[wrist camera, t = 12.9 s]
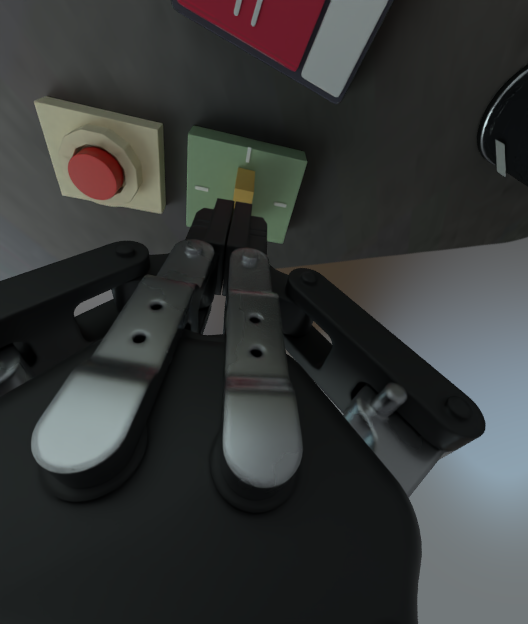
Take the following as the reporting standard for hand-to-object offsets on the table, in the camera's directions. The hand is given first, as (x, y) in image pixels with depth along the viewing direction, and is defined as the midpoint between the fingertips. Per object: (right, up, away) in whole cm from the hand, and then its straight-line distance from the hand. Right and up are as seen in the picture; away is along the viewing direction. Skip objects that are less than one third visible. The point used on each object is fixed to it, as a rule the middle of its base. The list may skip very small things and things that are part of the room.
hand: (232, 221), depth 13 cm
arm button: (-15, +10, +17) cm, 25 cm away
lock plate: (-1, +11, +21) cm, 24 cm away
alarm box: (-15, +13, +19) cm, 28 cm away
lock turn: (-1, +9, +19) cm, 21 cm away
